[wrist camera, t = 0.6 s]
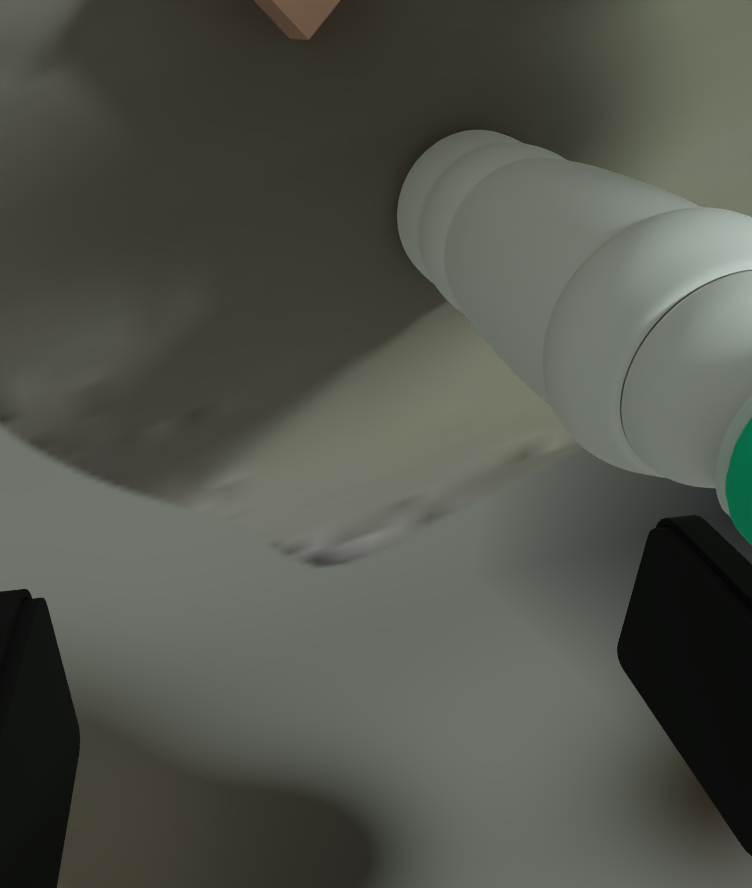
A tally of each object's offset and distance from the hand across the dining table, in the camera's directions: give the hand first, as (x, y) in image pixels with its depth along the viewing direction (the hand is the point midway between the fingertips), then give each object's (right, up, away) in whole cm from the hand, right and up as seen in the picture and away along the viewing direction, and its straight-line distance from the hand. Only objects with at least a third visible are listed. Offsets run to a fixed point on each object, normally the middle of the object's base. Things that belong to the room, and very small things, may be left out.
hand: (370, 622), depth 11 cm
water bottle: (+4, +14, +22) cm, 27 cm away
